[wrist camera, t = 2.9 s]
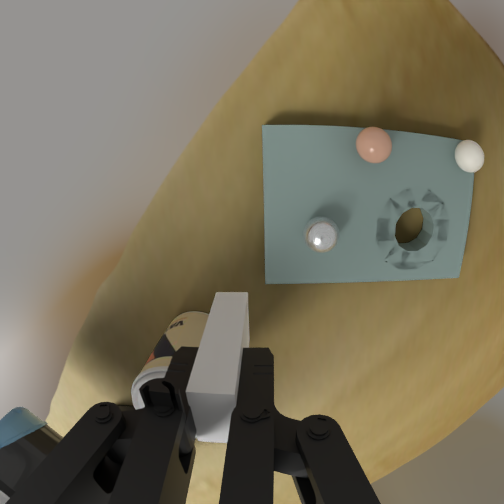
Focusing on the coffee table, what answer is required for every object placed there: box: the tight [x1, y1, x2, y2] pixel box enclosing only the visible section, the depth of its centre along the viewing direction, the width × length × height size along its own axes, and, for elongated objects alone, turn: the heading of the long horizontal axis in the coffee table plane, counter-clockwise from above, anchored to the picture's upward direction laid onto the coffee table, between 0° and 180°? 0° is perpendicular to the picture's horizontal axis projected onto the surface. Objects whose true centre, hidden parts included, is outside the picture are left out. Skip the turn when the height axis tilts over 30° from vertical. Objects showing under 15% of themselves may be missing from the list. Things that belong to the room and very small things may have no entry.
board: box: [262, 125, 474, 284], centre depth 29 cm, size 22×15×2 cm
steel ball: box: [303, 216, 339, 253], centre depth 27 cm, size 3×3×3 cm
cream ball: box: [455, 140, 484, 173], centre depth 24 cm, size 3×3×3 cm
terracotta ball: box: [356, 127, 392, 163], centre depth 24 cm, size 3×3×3 cm
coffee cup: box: [131, 311, 209, 438], centre depth 31 cm, size 9×9×12 cm
